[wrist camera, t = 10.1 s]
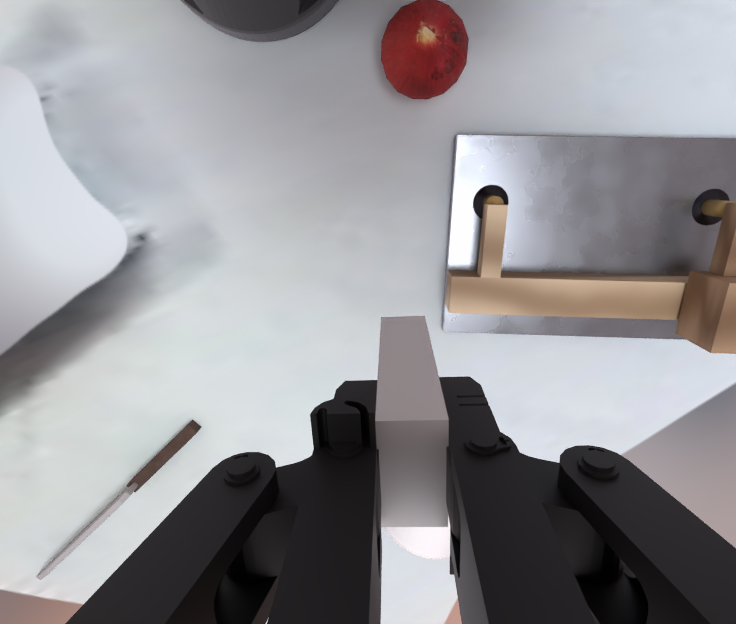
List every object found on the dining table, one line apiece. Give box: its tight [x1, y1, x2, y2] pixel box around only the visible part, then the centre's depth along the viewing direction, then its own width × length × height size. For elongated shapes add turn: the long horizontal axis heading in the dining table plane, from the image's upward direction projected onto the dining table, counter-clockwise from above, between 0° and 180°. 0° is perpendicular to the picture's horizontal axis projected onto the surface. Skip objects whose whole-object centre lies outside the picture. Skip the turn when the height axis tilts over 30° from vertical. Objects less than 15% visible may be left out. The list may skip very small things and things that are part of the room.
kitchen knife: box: [37, 420, 201, 580], centre depth 46 cm, size 4×1×30 cm
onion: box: [381, 0, 468, 99], centre depth 29 cm, size 6×6×8 cm
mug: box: [384, 516, 450, 559], centre depth 40 cm, size 12×10×8 cm
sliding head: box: [675, 200, 736, 354], centre depth 32 cm, size 10×4×6 cm, turn 179°
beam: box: [445, 195, 689, 320], centre depth 34 cm, size 9×24×2 cm, turn 89°
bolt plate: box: [442, 135, 736, 339], centre depth 36 cm, size 16×24×1 cm, turn 89°
